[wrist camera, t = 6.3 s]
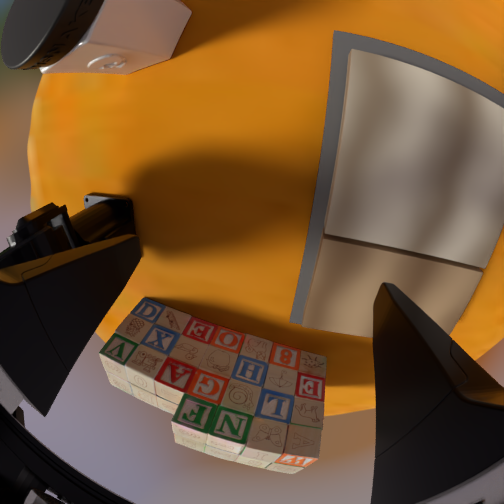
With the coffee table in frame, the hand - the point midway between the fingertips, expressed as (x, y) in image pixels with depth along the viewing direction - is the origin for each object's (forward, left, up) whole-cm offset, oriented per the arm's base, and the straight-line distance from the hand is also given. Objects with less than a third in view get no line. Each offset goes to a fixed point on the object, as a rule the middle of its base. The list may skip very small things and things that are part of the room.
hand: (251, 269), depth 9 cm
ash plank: (+10, +4, -11) cm, 15 cm away
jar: (-13, +13, -12) cm, 22 cm away
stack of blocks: (-4, -19, -12) cm, 23 cm away
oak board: (+10, -6, -11) cm, 16 cm away
